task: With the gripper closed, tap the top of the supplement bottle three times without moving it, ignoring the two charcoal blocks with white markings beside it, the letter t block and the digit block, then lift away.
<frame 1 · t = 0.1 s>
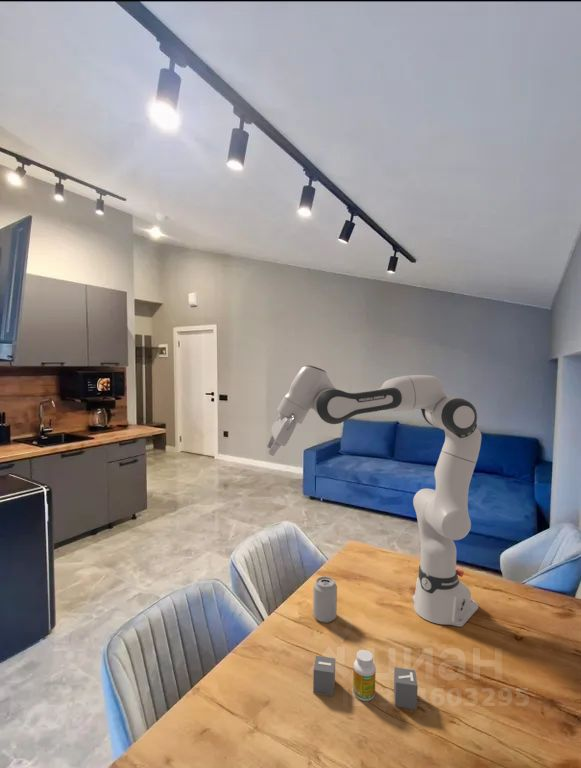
hand: (269, 451, 127), 54 cm above the table, tool tilted 30°, fingers open, 8 cm apart
letter t block: (404, 699, 100), on the table
can: (324, 617, 132), on the table
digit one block: (324, 686, 104), on the table
supplement bottle: (363, 693, 102), on the table
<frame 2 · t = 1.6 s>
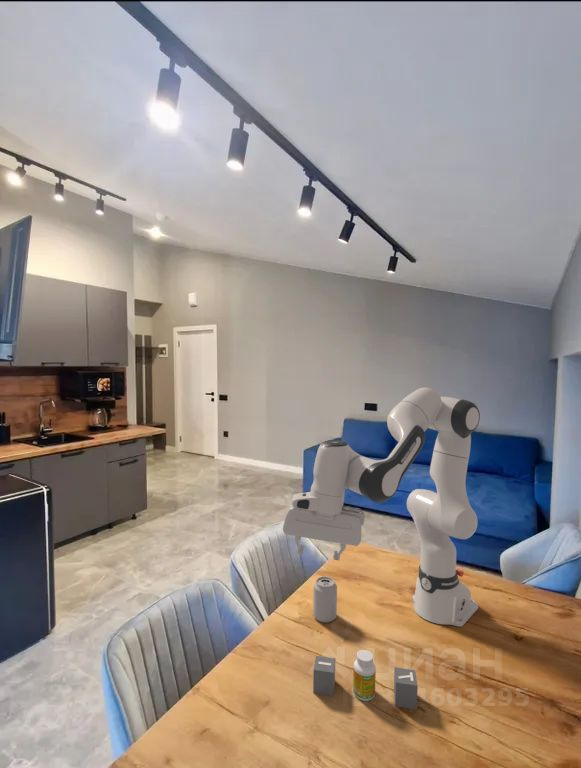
hand: (318, 556, 105), 32 cm above the table, tool pointing down, fingers open, 8 cm apart
nothing on the table moved.
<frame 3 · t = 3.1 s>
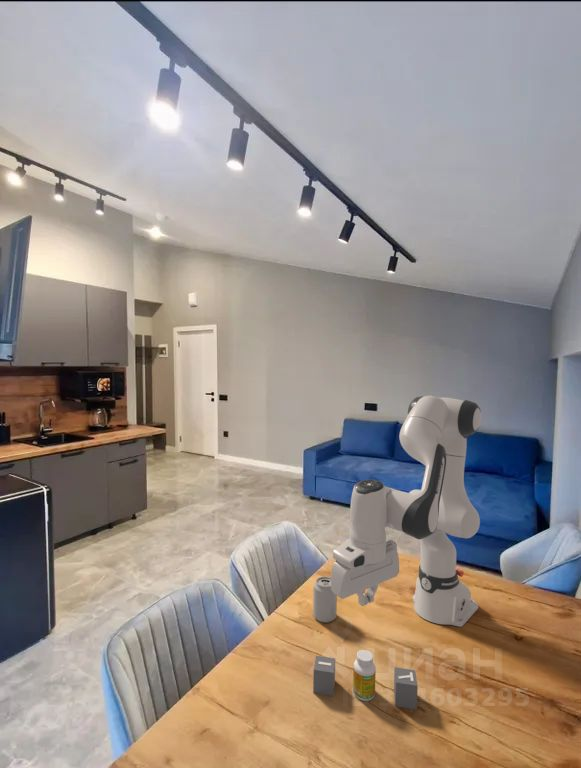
hand: (366, 602, 101), 23 cm above the table, tool pointing down, fingers closed
nothing on the table moved.
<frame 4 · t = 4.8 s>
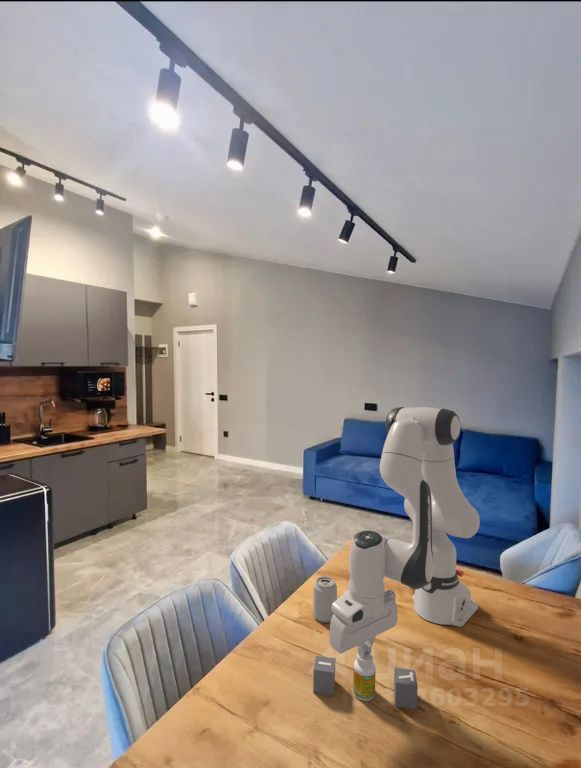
hand: (364, 654, 101), 10 cm above the table, tool pointing down, fingers closed
nothing on the table moved.
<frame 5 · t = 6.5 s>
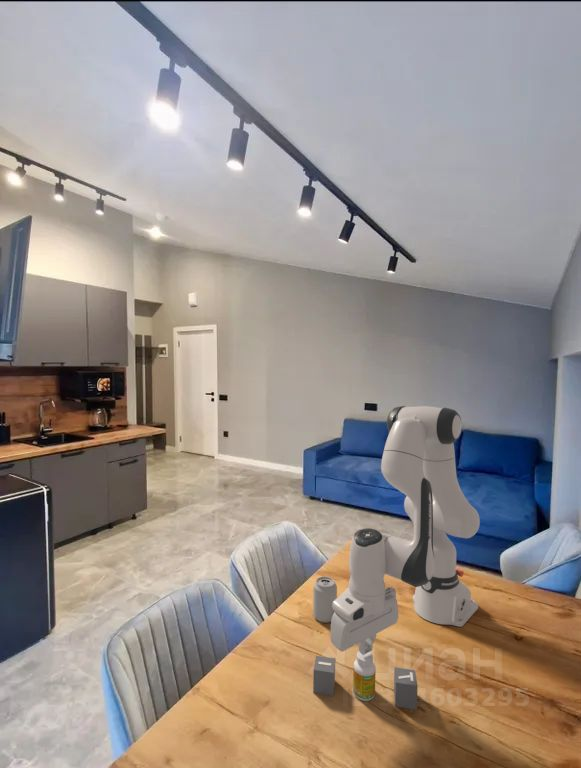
hand: (365, 651, 101), 11 cm above the table, tool pointing down, fingers closed
nothing on the table moved.
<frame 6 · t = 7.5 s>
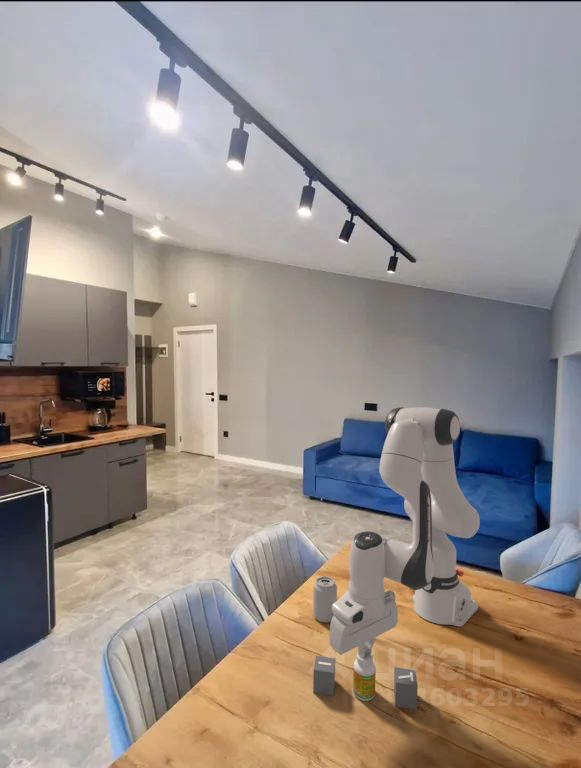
hand: (364, 654, 101), 10 cm above the table, tool pointing down, fingers closed
nothing on the table moved.
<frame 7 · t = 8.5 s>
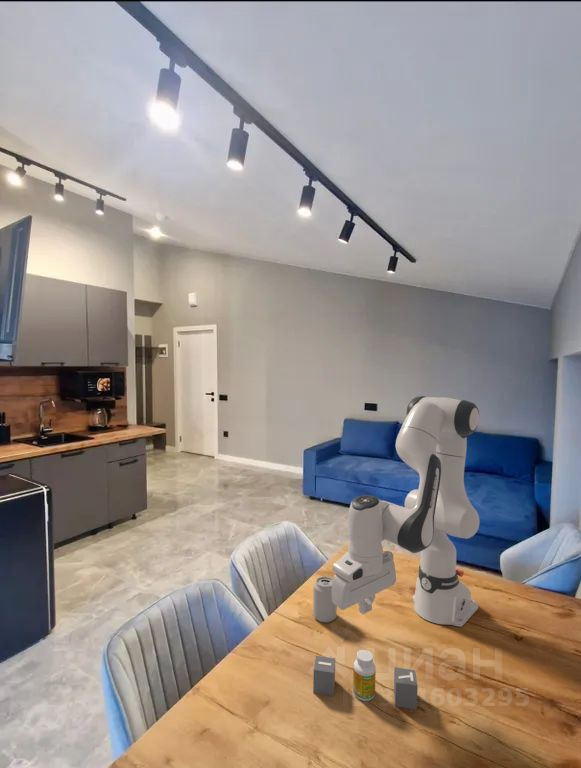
hand: (365, 611, 106), 17 cm above the table, tool pointing down, fingers closed
nothing on the table moved.
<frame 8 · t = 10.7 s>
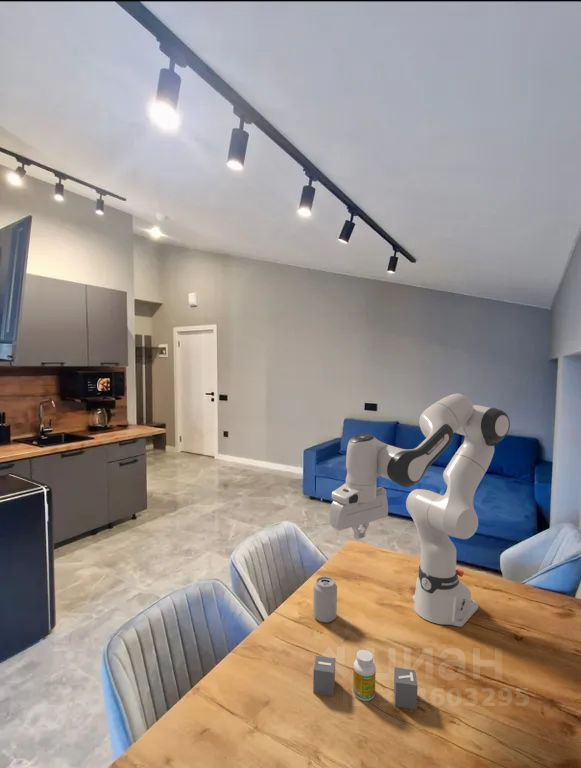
hand: (359, 537, 119), 31 cm above the table, tool pointing down, fingers closed
nothing on the table moved.
at the end: supplement bottle moved 0.2 cm from its start; supplement bottle tilted 0°; the gripper is holding nothing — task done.
